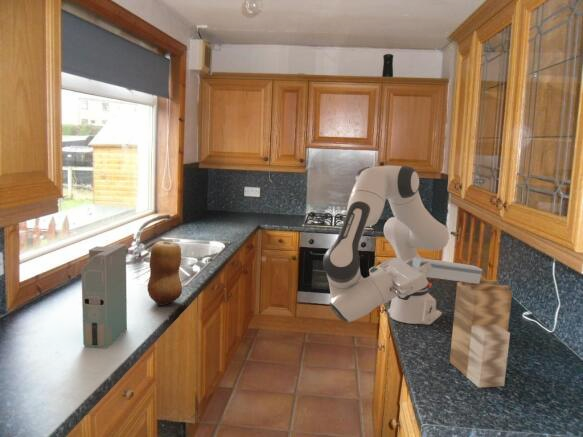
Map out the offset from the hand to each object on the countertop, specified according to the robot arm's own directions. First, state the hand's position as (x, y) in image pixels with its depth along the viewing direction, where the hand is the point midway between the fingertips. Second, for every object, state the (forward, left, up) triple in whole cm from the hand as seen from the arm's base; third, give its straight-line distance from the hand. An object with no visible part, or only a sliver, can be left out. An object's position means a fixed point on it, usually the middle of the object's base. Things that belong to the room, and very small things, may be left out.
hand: (425, 261), depth 147 cm
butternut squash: (+25, -99, -34) cm, 108 cm away
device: (+58, -81, -34) cm, 106 cm away
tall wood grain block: (-15, +13, -34) cm, 39 cm away
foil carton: (-6, +4, -5) cm, 8 cm away
